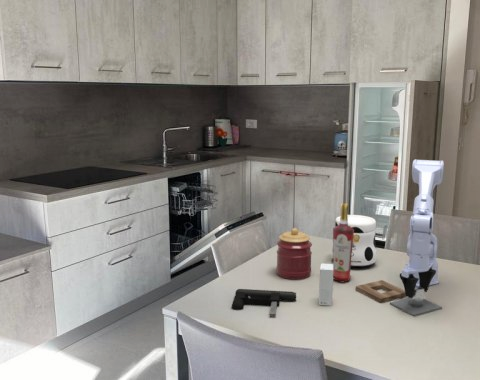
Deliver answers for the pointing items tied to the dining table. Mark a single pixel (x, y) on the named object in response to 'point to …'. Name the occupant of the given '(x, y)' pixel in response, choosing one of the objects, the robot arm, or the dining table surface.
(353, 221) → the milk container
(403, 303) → the rubber mat
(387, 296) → the bore plate
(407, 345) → the dining table surface
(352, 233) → the liquor
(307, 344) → the dining table surface
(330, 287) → the skincare box
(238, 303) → the door handle
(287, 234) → the canister
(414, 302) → the end cover
